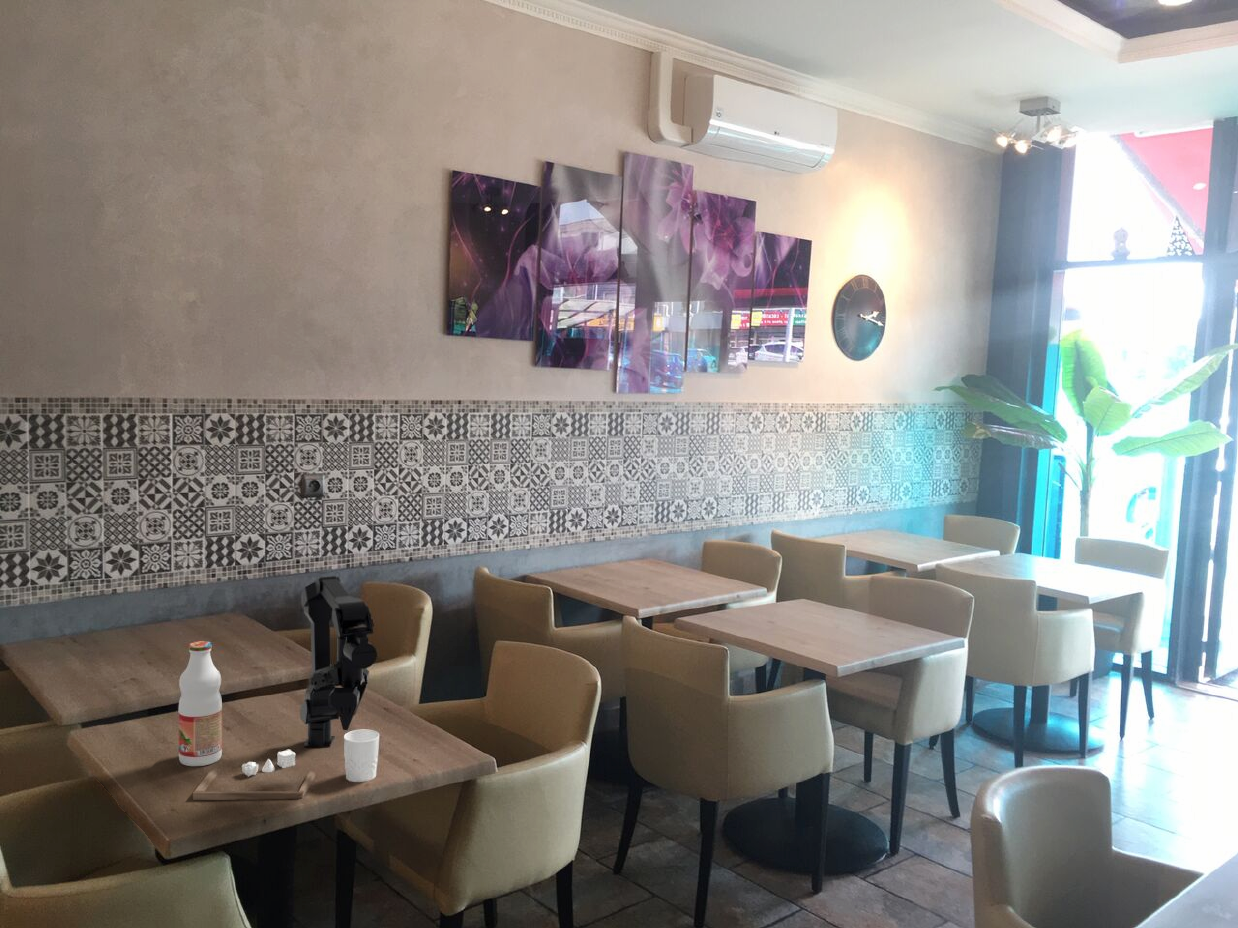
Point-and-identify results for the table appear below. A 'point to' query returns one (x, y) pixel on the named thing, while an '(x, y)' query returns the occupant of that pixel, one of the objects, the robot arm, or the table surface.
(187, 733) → the fruit juice
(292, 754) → the game pieces
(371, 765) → the white cup
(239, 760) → the table surface
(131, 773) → the table surface
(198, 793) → the rail corral
